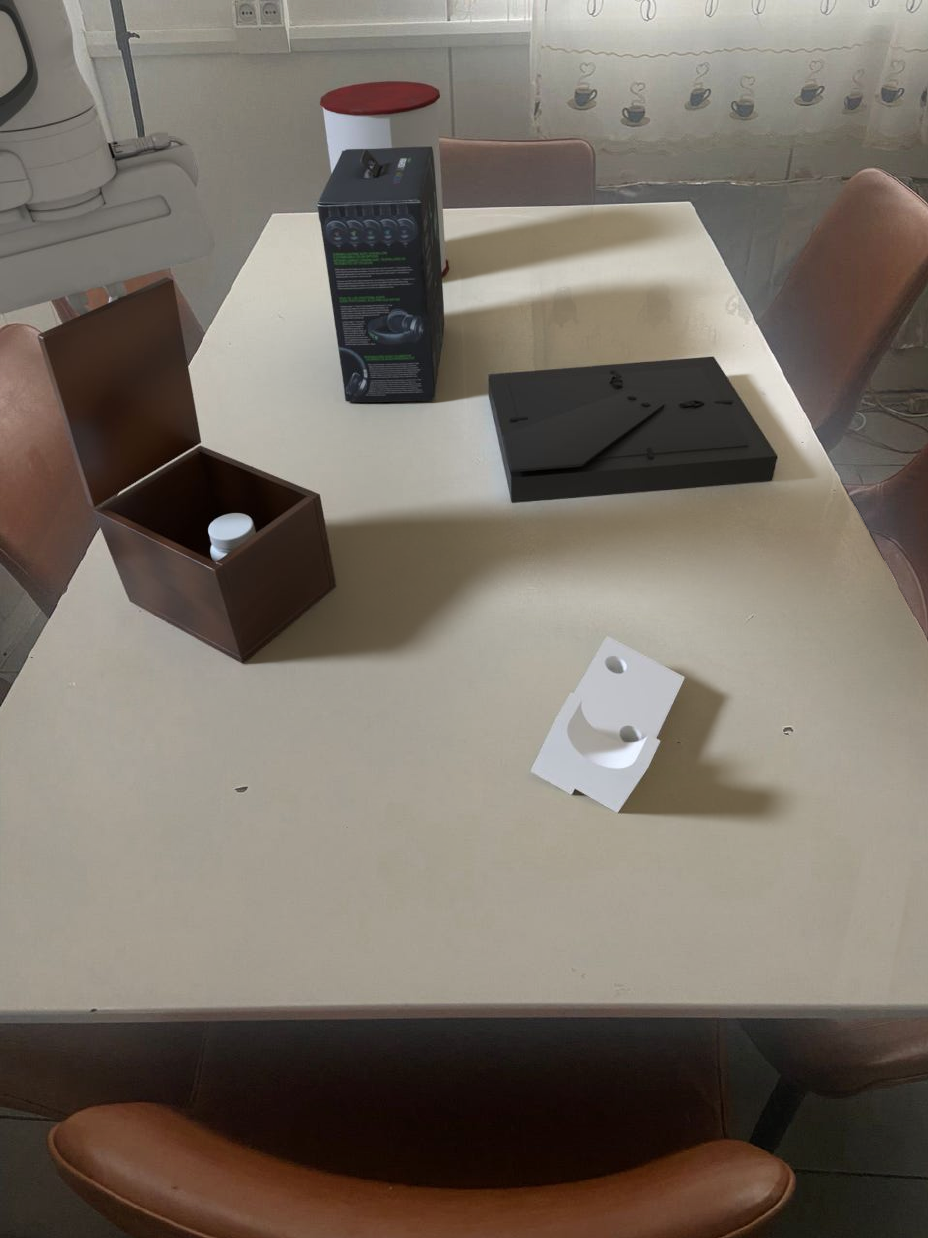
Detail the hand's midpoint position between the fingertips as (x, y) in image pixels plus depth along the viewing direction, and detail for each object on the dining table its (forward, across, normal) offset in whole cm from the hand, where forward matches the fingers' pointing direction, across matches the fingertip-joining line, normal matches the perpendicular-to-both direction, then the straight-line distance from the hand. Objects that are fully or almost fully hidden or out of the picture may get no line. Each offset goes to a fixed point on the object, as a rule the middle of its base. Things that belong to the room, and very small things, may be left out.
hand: (112, 336), depth 73 cm
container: (+27, -51, -55) cm, 80 cm away
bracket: (+24, -22, +42) cm, 53 cm away
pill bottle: (+23, -3, +10) cm, 26 cm away
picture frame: (+26, -50, +5) cm, 57 cm away
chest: (+24, -2, +8) cm, 25 cm away
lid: (+5, 0, +2) cm, 5 cm away
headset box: (+26, -37, -26) cm, 52 cm away
